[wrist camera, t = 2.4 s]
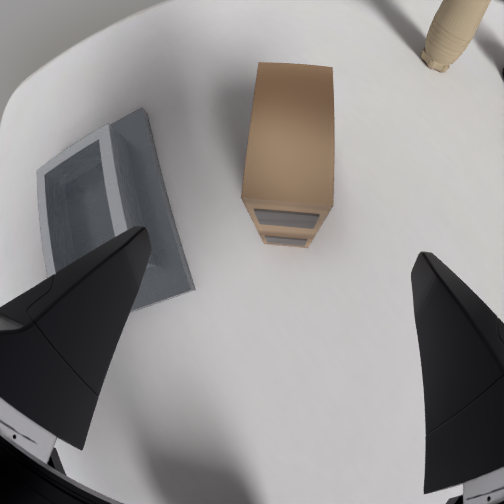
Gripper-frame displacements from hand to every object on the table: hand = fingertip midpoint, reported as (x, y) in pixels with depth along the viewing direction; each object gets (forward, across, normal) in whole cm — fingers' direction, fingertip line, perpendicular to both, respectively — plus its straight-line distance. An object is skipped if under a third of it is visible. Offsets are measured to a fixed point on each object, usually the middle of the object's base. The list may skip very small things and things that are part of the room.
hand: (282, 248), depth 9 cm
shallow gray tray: (+10, +15, +6) cm, 19 cm away
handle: (+24, -14, -7) cm, 28 cm away
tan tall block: (+11, 0, +5) cm, 12 cm away
